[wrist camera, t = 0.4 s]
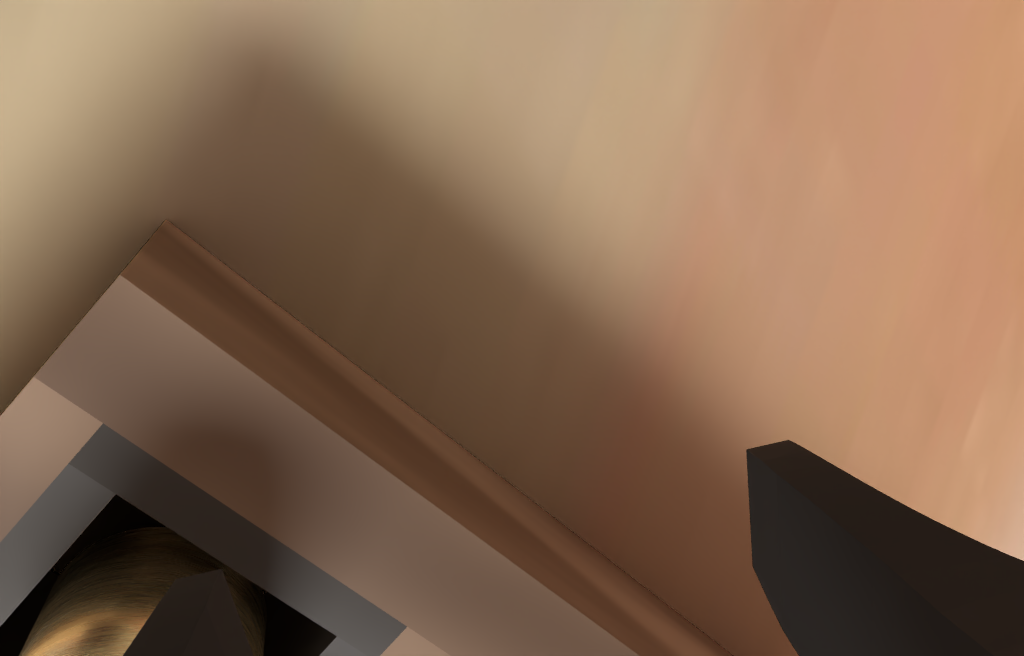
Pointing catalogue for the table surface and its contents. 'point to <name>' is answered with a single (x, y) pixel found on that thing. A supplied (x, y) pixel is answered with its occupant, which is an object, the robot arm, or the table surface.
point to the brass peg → (130, 594)
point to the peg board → (294, 485)
